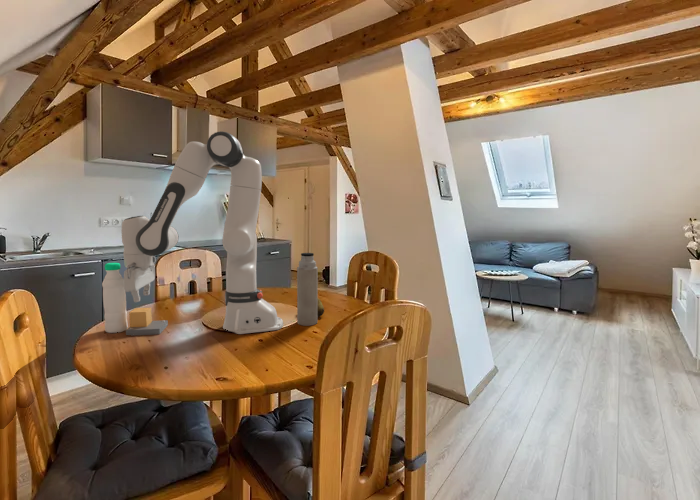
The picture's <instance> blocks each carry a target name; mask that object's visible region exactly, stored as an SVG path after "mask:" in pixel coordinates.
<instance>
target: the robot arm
mask: <svg viewBox="0 0 700 500" xmlns="http://www.w3.org/2000/svg"><path fill="white" fill-rule="evenodd" d="M213 166H216V167H217V166H218V167H223V168H224V167H225V168H228V169H229V170H230V173H231V175H230V187H229V195H228V206H227V211H226V217H225V221H224V225H223V226H224V227H223V234H222V245H223V249H224V250H225V251H226V254H227V255H226V256H227V257H226V266H225V280H226V281H225V284H226V285H225V286H226V287H225V288H226V290H225V291H224V292H225V293H224V303H225V316H224V322H223V325H222V328H223V330H225V329H226V330H225V331H227V330H228V331H227V332H232V333H234V334H236V335H237V334H238V335H244V334H251V333H253V334H254V333H262V332H269V331H271V332H272V331H279V330H280V329H282V328H283V326H284V322H283V319H282V318H281V317H279V316H278V313H277V309H276V308H275V306H273V305H272V304H271V303H270V302H269V301H266V300H265V299H264V298H263V295H264V294H263V291H262V289H258V288H257V259H258V256H257V255H258V254H257V253H258V252H257V251H258V250H257V249H258V236H257V233H256V231H257V224H258V219H259V218H258V217H259V212H260V204H261V195H262V194H261V192H262V184H263V178H262V177H263V173H262V172H263V171H262V164H261V163H260V161H258V160H257V159H256V158H253V157H252V156H251V157H250V156H246V155H245V154H244V148H243V146H242V144H241V142H240V141H239V140H238V138H236V136H234V135H233V134H231V133H230V132H227V131H222V130H221V131H216V132H214V133H212V134H211V135H210V136H209V137H208V139H207V143H206V144H205V143H202V142H201V141H189V142H187V144H186V145H185V146H184V147H183V149H182V151H181V152H180V153H179V156H178V157H177V159H176V161H175V164H174V166H173V168H172V169H171V170H172V171H171V174H170V176H169V179H168V180H167V184H166V186H165V189H164V191H163V194H162V195H161V197H160V199H159V201H158V203H157V205H156V207H155V209H154V211H153V213H152V215H151V217H150V218H148V217H147V216H145V215H136V216H131V217H127V218H125V219H124V220H123V221H122V222H121V242H122V245H123V261H124V267H125V268H126V269H125V270H124V271H123V279H124V289H125V292H126V293H130V294H131V296H132V299H133V302H134V303H139V302H141V300H142V299H141V295H140V290H141V289H142V288H143V291H142V293H143V294H142V295H143V296H144V297H146V296H149V295H150V294H151V293H150V292H151V291H150V290H151V283H152V282H154V281H155V279H156V266H155V263H156V262H157V261H156V257H157V256H159V255H161V254H163V253H164V252H167V251H169V250H171V249H173V248H174V247H176V246H177V244H178V242H179V234H178V231H177V229H176V227H175V228H174V227H173V226H171V225H172V223H173V221H174V219H175V218H176V215H177V212H178V211H179V209H180V208H181V206H182V205H183V204H184V203H186V202H187V201H188V200H190V199H191V198H194V197H195V196H196V195H197V194H198V193H199V192H200V190H201V189H202V187H203V185H204V183H205V181H206V179H207V176H208V174H209V172H210V170H211V169H212V168H213Z"/></svg>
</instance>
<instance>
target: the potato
mask: <svg viewBox="0 0 700 500" xmlns="http://www.w3.org/2000/svg"><path fill="white" fill-rule="evenodd" d="M324 313H325V307H324V305H323V303H322V300H321V299H320V298H318V305H317V315H318V318H319V317H321V316H323V315H324Z"/></svg>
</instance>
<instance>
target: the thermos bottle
mask: <svg viewBox="0 0 700 500" xmlns="http://www.w3.org/2000/svg"><path fill="white" fill-rule="evenodd" d="M314 255H315V254H314V253H313V252H302V253H300V258H301V260H299V261H298V266H297V268H296V272H297V273H296V276H297V277H296V282H297V283H296V292H297V295H296V296H297V297H296V300H297V301H296V302H297V303H296V304H297V305H296V306H297V307H296V308H297V314H296V315H297V317H296V319H297V324H298V325H300V326H314V325H316V324H317V323H318V318H319V317H318V315H317V305H318V299H319V297H318V296H319V295H318V288H319V287H318V285H319V284H318V283H319V282H318V281H319V280H318V278H319V277H318V274H319V273H318V266H317V261H315V260H314Z"/></svg>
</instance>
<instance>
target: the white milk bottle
mask: <svg viewBox="0 0 700 500" xmlns="http://www.w3.org/2000/svg"><path fill="white" fill-rule="evenodd" d="M104 270H105V272H106V274H105V276H104V278H103V281H102V283H101V286H102V302H103V310H104V316H103V319H104V331H105V332H106V333H108V334H118V333H123V332H126V330H127V329H128V328H129V326H128V325H129V324H128V323H129V322H128V312H127V295H126V293H127V292H126V291H125V289H124V277H123V276H122V274H121V273H120V271H121V263H119V262H108V263H105V265H104ZM117 332H118V333H117Z"/></svg>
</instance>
